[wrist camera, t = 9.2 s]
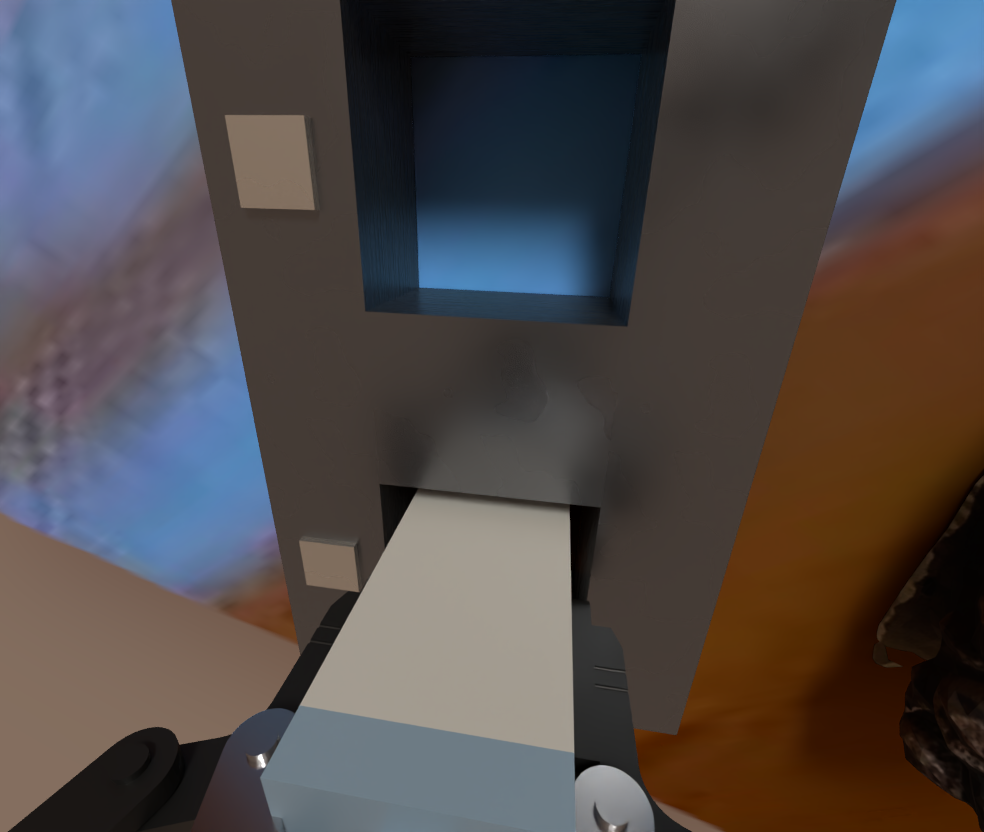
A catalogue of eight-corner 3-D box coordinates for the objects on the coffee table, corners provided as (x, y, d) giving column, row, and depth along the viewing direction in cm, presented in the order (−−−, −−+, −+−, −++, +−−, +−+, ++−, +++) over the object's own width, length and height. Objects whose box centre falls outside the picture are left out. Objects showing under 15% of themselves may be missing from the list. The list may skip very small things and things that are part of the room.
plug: (568, 456, 15) (577, 907, 5) (557, 558, 16) (547, 1043, 7) (442, 444, 15) (230, 831, 6) (443, 545, 17) (283, 977, 7)
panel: (817, -81, 9) (990, -288, 6) (652, 627, 17) (677, 741, 13) (278, -54, 11) (121, -205, 7) (354, 586, 19) (300, 679, 15)
